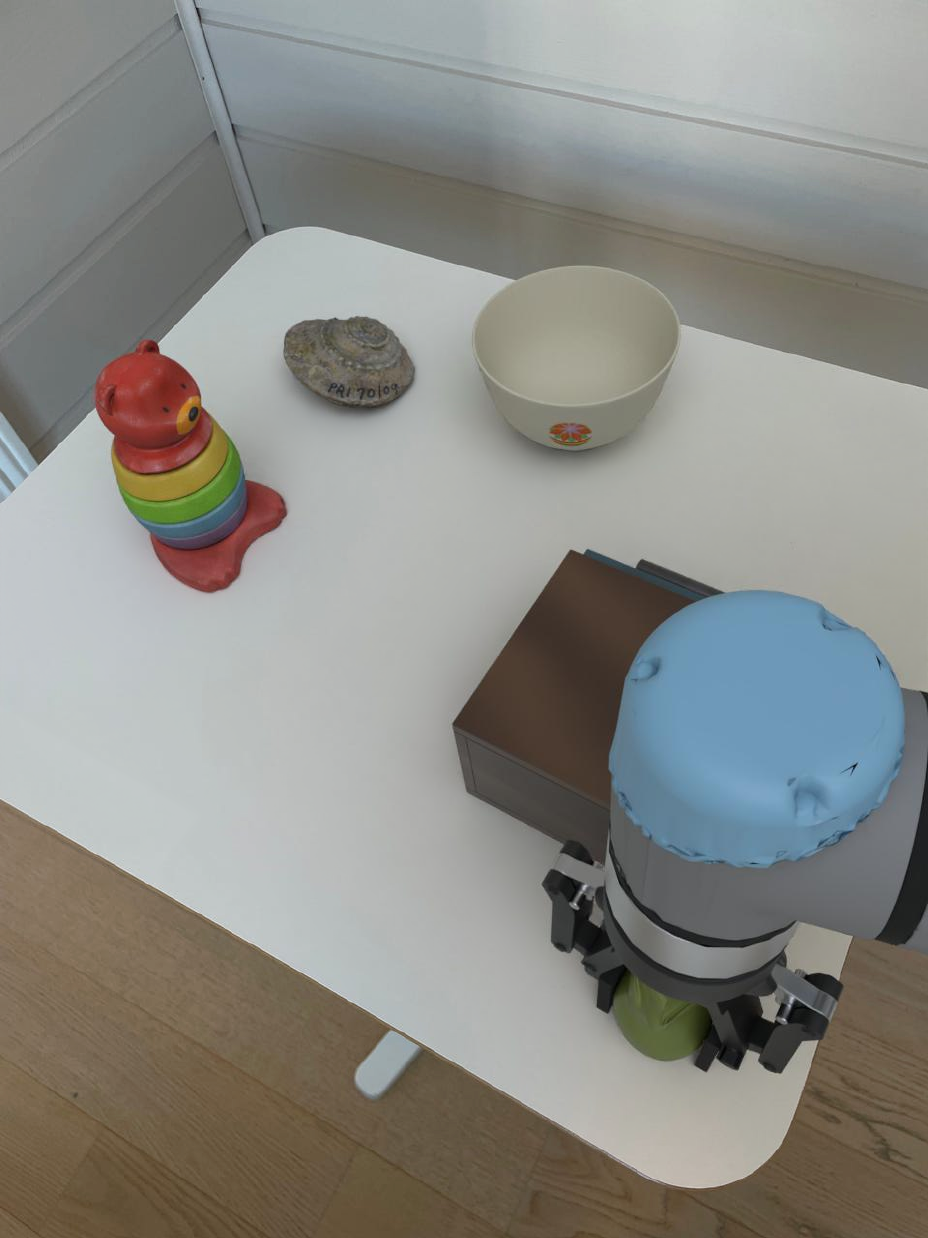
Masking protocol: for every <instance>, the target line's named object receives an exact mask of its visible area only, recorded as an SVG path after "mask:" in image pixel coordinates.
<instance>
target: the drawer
mask: <svg viewBox="0 0 928 1238" xmlns="http://www.w3.org/2000/svg"><path fill="white" fill-rule="evenodd" d="M583 554H584V555H586V556H588V557H591V558H593V559H596V560H598V561H600V562H603V563H605V564H608V565H610V566H612V567H615V568H617V569H620V570H622V571H625V572H627V573H629V574H632V575H634V576H637V577H639V578H641V579H644V580H646V581H649V582H651V583H653V584H656V585H658V586H661V587H663V588H666V589H668V590H670V591H673V592H675V593H678V594H680V595H682V596H685V597H687V598H690V599H692V600H695V601H700V600H702V599H705V598H708V597H711V596H714V595H719V594H723V593H726V592H725V591H722V590H721V589H718V588H715V587H713V586H710V585H708V584H706V583H703V582H701V581H698V580H697V579H693V578H691V577H688V576H686V575H683V574H681V573H679V572H677V571H674V570H671V569H669V568H666V567H664V566H661V565H659V564H656V563H654V562H652V561H650V560H647V559H644V558H641V559H640V560H639V561H638V562H637V563H636V566H635V567H633V566H631V565H628V564H626V563H624V562H621V561H618V560H616V559H614V558H611V557H609V556H607V555H605V554H601V553H599V552H596V551H595V550H592V549H589V548H586V549H585V550H584V552H583Z"/></svg>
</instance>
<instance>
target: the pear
mask: <svg viewBox="0 0 928 1238" xmlns="http://www.w3.org/2000/svg"><path fill="white" fill-rule="evenodd" d="M612 1009H613V1015H614V1018H615V1021H616V1025H617V1026H618V1028H619V1030H620V1032H621V1033H622V1035H623V1036H624V1038H625V1039H626V1040H627V1042H628V1043H629V1044H630V1045H631V1046H632V1048H634V1049H635V1050H637V1052H639V1053H641V1054H642V1055H644V1056H645V1057H648V1058H649V1059H652V1060H655V1061H659V1062H674V1061H678V1060H681V1059H684V1058H686V1057H689V1056H690V1055H692V1054H693V1053H694V1052H696V1051H697V1050H698V1049H699V1048H700V1047H701V1046H703V1044H704V1042H705V1040H706V1038H707V1036H708V1035H709V1032H710V1030H711V1027H712V1025H713V1021H712V1018H711V1016H710V1013H709V1011H708V1009H707V1008H705V1007H703V1006H701V1005H699V1004H697V1003H690V1002H684V1001H680V1000H676V999H673V998H670V997H667V996H665V995H663V994H661V993H659V992H657V991H655V990H653V989H651V988H650V987H648V986H647V985H645V984H644V983H643V982H641V981H640V980H639V979H638V978H637V977H636V976H634V975H633V974H632V973H631V972H630V971H629V969H627V970H626V972H625V973H624V974H623V976H622V977H621V979H620V980H619V982H618V984H617V986H616V988H615V991H614V996H613V1005H612Z"/></svg>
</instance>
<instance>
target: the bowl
mask: <svg viewBox="0 0 928 1238" xmlns="http://www.w3.org/2000/svg"><path fill="white" fill-rule="evenodd" d="M681 339H682V330H681V323H680V319H679V316H678V313H677V311H676V309H675V307H674V305H673V304H672V303H671V301H670V300H669V298H667V296H666V295H665V294H664V293H663V292H661V291H660V290H659V289H658V287H656V286H655V285H653V284H652V283H649V282H648V281H646V280H644V279H642V278H640V277H638V276H636V275H634V274H631V273H629V272H626V271H622V270H619V269H614V268H610V267H605V266H597V265H596V266H595V265H567V266H565V265H564V266H558V267H552V268H547V269H543V270H540V271H539V270H538V271H536V272H533V273H530V274H527V275H524V276H522V277H521V278H518V279H516V280H514V281H512V282H511V283H509V284H507V285H506V286H505V287H503V288H501V289H500V290H498V291H497V292H496V293H495V294H494V295H492V297H491V298H490V299H488V301H487V302H486V303H485V304H484V306H482V308H481V310H480V311H479V313H478V314H477V316H476V319H475V320H474V324H473V328H472V333H471V346H472V352H473V353H472V354H473V356H474V359H475V362H476V364H477V366H478V369H479V372H480V375H481V376H482V379H483V381H484V383H485V386H486V388H487V391H488V393H489V396H490V397H491V399H492V402H493V403H494V405H495V406H496V409H497V410H498V411H499V413H500V414H501V416H502V417H503V418H504V419H505V421H506V422H507V423H508V424H509V425H510V426H511V427H512V428H513V429H515V430H516V431H517V432H518V433H520V434H521V435H522V436H524V437H525V438H527V439H529V440H531V441H533V442H535V443H538V444H539V445H543V446H546V447H548V448H554V449H558V450H564V451H570V452H571V451H572V452H577V451H585V450H590V449H594V448H598V447H602V446H604V445H607V444H610V443H612V442H614V441H617V440H619V439H621V438H622V437H624V436H626V435H627V434H629V432H631V431H633V430H634V429H635V428H636V427H637V426H639V424H641V423H642V422H643V421H644V419H645V418H646V417H647V416H648V414H649V413H650V412H651V410H652V409H653V408H654V406H655V405H656V403H657V401H658V399H659V397H660V395H661V393H662V392H663V391H662V390H663V388H664V386H665V384H666V382H667V379H668V377H669V375H670V372H671V369H672V367H673V365H674V362H675V361H676V360H675V359H676V357H677V354H678V351H679V348H680V344H681V341H682V340H681Z"/></svg>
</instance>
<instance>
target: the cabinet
mask: <svg viewBox="0 0 928 1238" xmlns="http://www.w3.org/2000/svg"><path fill="white" fill-rule="evenodd" d="M695 602H697V601H695V600H692V599H690V598H687V597H685V596H682V595H680V594H678V593H675V592H673V591H670V590H668V589H666V588H663V587H661V586H658V585H656V584H653V583H651V582H649V581H646V580H644V579H641V578H639V577H637V576H634V575H632V574H629V573H627V572H625V571H622V570H620V569H617V568H615V567H612V566H610V565H608V564H605V563H603V562H600V561H598V560H596V559H593V558H591V557H588V556H586V555H584V553H582V552H578V551H576V550H574V549H569V551H567V554H566V555H565V557H564V558H563V559H562V561H561V563H559V565H558V567H557V568H556V569H555V571H554V573H553V574H552V576H551V577H550V579H549V580H548V582H547V583H546V584H545V586H544V588H543V589H542V590H541V592H540V593H539V594H538V596H537V598H536V599H535V600H534V602H533V604H532V605H531V606H530V608H529V609H528V611H527V612H526V614H525V616H524V617H523V619H522V620H521V621H520V623H519V624H518V626H517V627H516V628H515V630H514V631H513V633H512V634H511V636H510V637H509V639H508V640H507V642H506V644H505V645H504V646H503V648H502V649H501V651H500V652H499V654H498V655H497V656H496V658H495V660H494V661H493V663H492V664H491V665H490V667H489V669H488V670H487V672H486V673H485V674H484V676H483V677H482V679H480V680H481V681H480V682H479V683H478V685H477V686H476V688H475V689H474V691H473V692H472V694H471V695H470V697H469V698H468V700H467V701H466V703H465V704H464V705H463V707H462V708H461V710H460V711H459V713H458V714H457V716H456V717H455V719H454V720H453V722H452V723H451V725H452V730H453V735H454V736H453V737H454V740H455V741H454V742H455V745H456V750H457V753H458V758H459V763H460V767H461V772H462V777H463V781H464V787H465V790H466V793H468V794H470V795H471V796H474V797H475V798H477V799H479V800H480V801H483V802H485V803H486V804H488V805H490V806H492V807H494V808H496V809H498V810H499V811H501V812H504V813H505V814H507V815H509V816H510V817H513V818H515V819H516V820H518V821H520V822H522V823H523V824H525V825H527V826H529V827H531V828H533V829H535V830H537V831H538V832H541V833H542V834H545V835H546V836H549V837H550V838H552V839H554V840H555V841H558V842H559V843H561V844H563V845H564V844H565V842H566V841H567V840H573V841H576V842H579V843H580V844H582V845H583V846H584V847H585V848H586V849H587V850H588V852H589V854H590V855H591V857H592V859H593V860H595V861H598V862H599V863H601V864H602V866H604V867H605V860H606V851H607V842H608V832H609V819H610V808H611V772H610V771H609V753H610V750H611V746H612V743H613V739H614V735H615V731H616V727H617V722H618V716H619V710H620V705H621V699H622V694H623V688H624V682H625V678H626V676H627V674H628V672H629V670H630V668H631V665H632V663H633V661H634V659H635V657H636V655H637V653H638V651H639V649H640V648H641V646H642V645H643V644H644V642H645V641H646V640H647V639H648V637H649V636H650V635H651V634H652V633H653V632H654V631H655V630H656V629H657V628H658V627H659V626H660V625H661V624H662V623H663V622H664V621H665V620H667V619H668V618H669V617H671V616H672V615H673V614H675V613H677V612H679V611H680V610H681V609H683V608H685V607H686V606H688V605H690V604H693V603H695Z"/></svg>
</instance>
